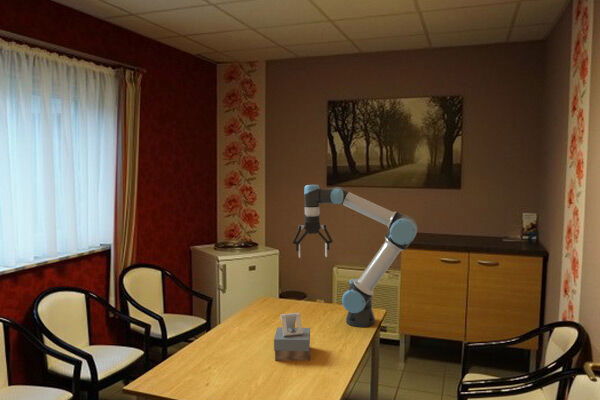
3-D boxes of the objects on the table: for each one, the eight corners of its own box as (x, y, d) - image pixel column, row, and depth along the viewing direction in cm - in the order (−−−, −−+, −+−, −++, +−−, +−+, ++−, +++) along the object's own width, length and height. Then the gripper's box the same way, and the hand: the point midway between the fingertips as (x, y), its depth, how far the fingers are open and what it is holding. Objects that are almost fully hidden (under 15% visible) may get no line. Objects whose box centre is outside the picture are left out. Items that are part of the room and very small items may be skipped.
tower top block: (310, 338, 223) (310, 327, 223) (309, 351, 208) (309, 339, 208) (277, 338, 224) (277, 327, 223) (274, 350, 209) (274, 339, 208)
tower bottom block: (308, 348, 224) (308, 337, 224) (310, 361, 209) (310, 350, 209) (276, 349, 224) (275, 338, 223) (275, 362, 209) (275, 351, 208)
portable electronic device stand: (283, 337, 211) (283, 318, 210) (279, 331, 218) (279, 313, 218) (303, 335, 213) (303, 316, 212) (298, 329, 220) (298, 311, 220)
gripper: (335, 213, 251) (336, 254, 253) (287, 215, 250) (288, 256, 252) (337, 215, 243) (338, 257, 245) (287, 216, 242) (288, 258, 244)
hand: (312, 256), depth 248 cm, fingers open, 13 cm apart
